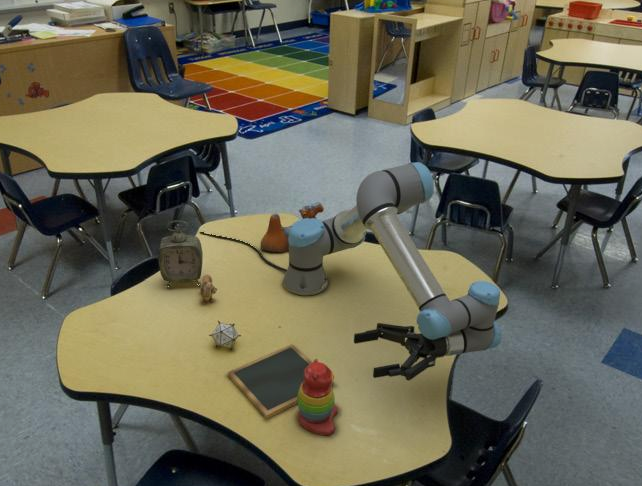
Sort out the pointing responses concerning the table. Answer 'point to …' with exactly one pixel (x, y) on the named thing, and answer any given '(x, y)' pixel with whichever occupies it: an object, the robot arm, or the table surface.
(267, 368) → the chalkboard
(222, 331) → the game die
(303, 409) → the stacking bear
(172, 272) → the tabletop clock
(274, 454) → the table surface
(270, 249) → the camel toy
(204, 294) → the lion figurine
